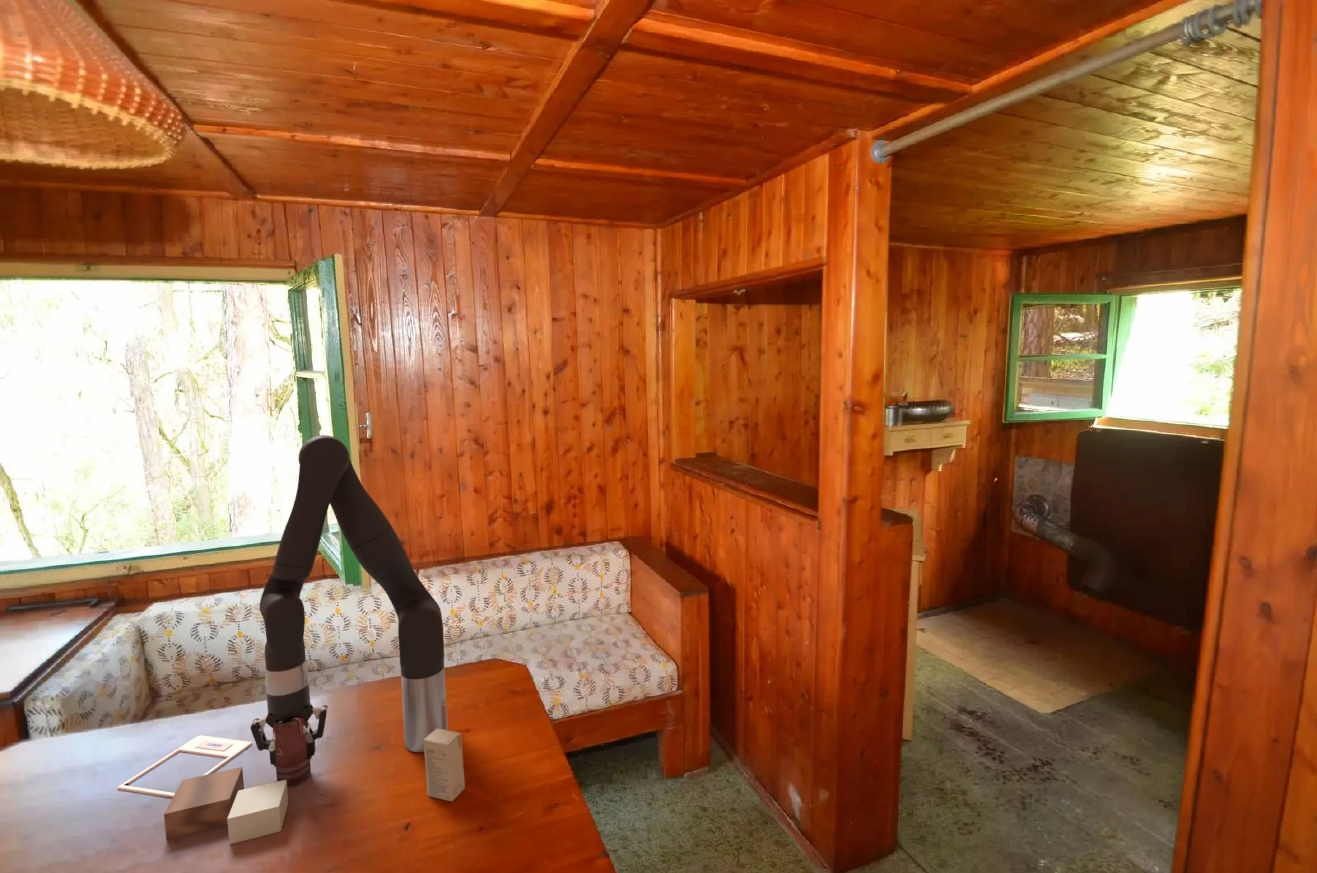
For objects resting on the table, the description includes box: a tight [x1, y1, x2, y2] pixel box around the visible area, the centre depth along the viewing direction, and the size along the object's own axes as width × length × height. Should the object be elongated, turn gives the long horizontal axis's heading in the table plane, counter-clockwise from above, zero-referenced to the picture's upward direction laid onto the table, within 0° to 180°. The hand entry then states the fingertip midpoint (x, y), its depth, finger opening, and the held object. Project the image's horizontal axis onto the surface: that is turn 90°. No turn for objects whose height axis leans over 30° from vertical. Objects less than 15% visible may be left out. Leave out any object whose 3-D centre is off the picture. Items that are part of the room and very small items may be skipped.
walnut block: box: [163, 766, 245, 840], centre depth 117 cm, size 10×10×5 cm
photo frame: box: [117, 734, 253, 799], centre depth 132 cm, size 15×1×18 cm
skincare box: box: [423, 728, 466, 802], centre depth 122 cm, size 6×4×12 cm
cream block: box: [227, 780, 289, 845], centre depth 114 cm, size 8×8×5 cm
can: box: [272, 717, 312, 788], centre depth 126 cm, size 6×6×14 cm
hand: (293, 760), depth 127 cm, fingers open, 5 cm apart
